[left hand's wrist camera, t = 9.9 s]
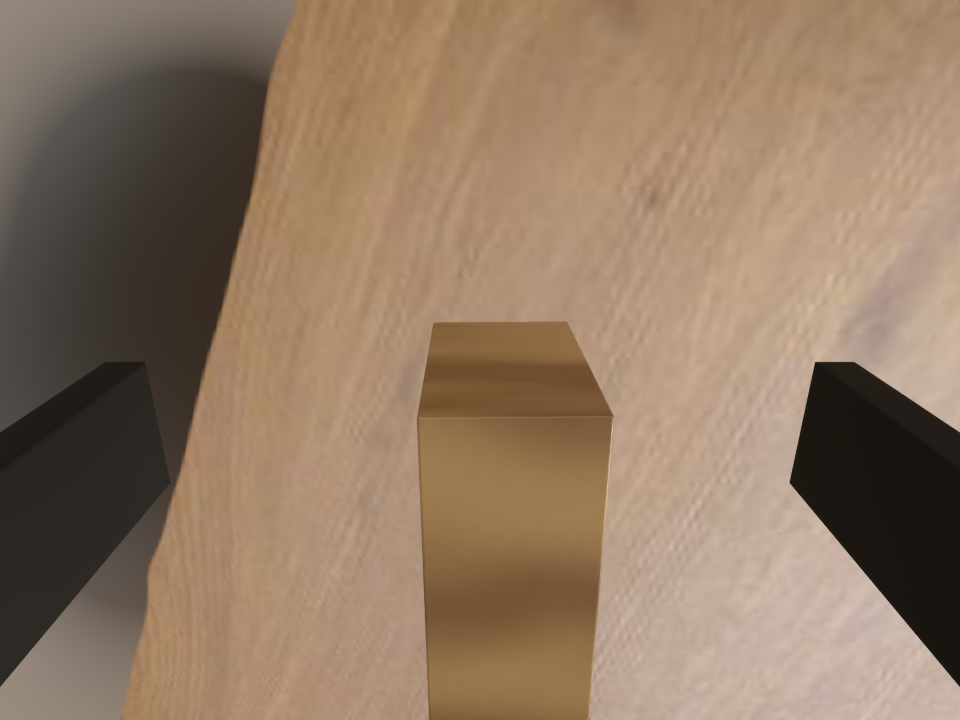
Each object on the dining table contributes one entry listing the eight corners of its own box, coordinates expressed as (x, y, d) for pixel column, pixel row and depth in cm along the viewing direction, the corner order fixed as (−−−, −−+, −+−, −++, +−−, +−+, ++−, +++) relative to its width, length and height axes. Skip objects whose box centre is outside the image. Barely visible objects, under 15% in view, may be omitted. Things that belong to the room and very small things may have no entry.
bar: (433, 322, 24) (416, 417, 16) (567, 320, 24) (615, 416, 16) (445, 731, 32) (437, 928, 24) (546, 729, 32) (572, 925, 24)
